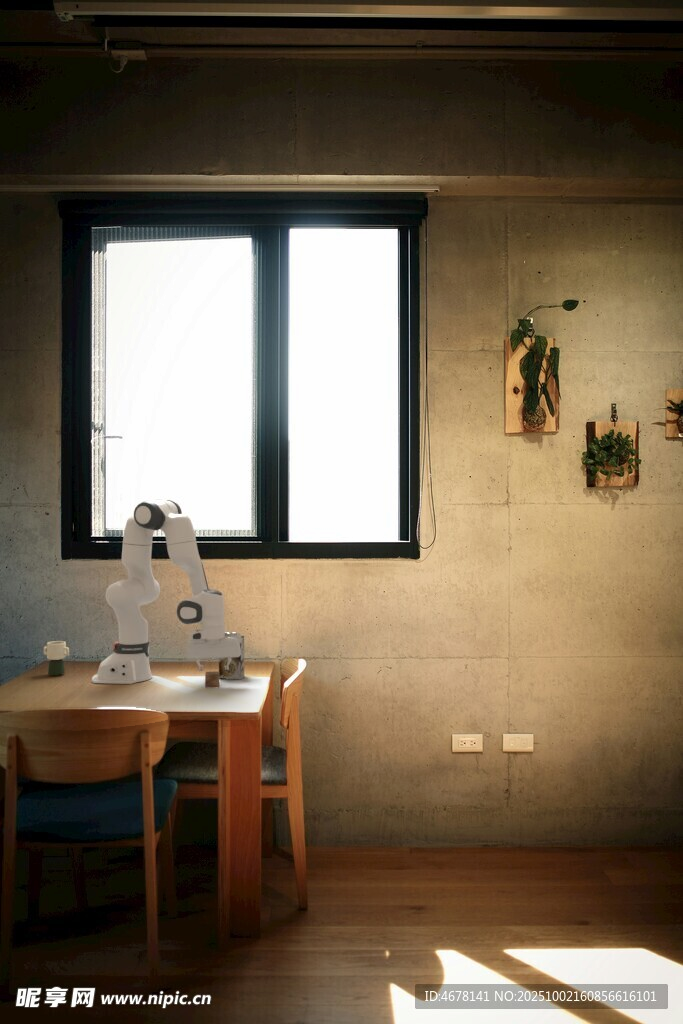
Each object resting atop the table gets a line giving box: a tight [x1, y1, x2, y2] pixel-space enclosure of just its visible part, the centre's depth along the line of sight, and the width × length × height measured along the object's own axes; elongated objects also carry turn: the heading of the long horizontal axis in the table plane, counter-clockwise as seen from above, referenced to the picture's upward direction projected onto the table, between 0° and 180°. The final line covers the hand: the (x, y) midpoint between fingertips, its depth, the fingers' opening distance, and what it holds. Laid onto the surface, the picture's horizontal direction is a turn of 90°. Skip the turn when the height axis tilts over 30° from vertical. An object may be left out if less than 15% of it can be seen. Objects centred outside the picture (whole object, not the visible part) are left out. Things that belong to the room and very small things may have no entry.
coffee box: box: [218, 635, 245, 680], centre depth 298 cm, size 9×6×16 cm
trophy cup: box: [43, 640, 70, 676], centre depth 300 cm, size 11×7×13 cm, turn 80°
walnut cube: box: [204, 670, 220, 688], centre depth 285 cm, size 5×5×5 cm
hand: (214, 669), depth 284 cm, fingers open, 8 cm apart
